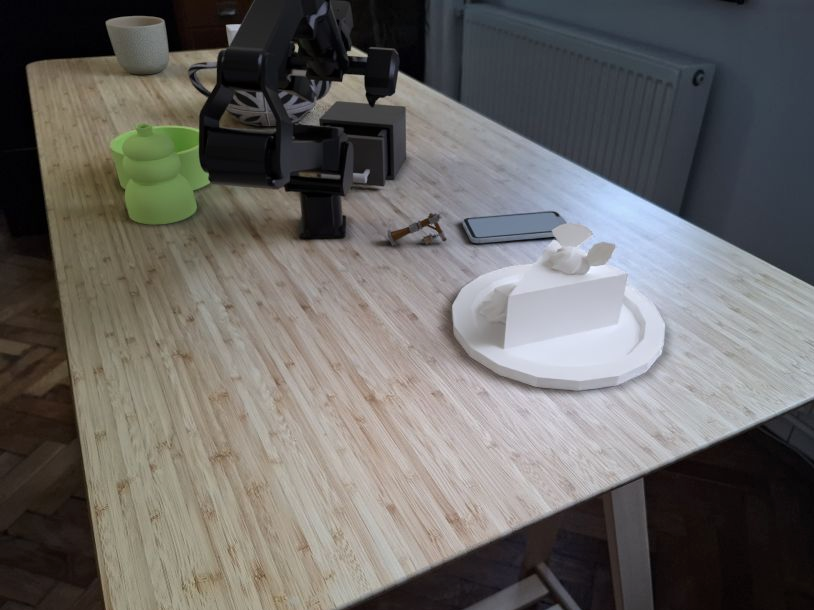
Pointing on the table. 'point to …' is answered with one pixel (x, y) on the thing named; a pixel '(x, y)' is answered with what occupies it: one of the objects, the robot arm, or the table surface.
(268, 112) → the teapot
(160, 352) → the table surface
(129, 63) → the planter
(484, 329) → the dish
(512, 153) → the table surface
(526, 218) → the smartphone
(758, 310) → the table surface
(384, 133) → the drawer
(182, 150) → the food container
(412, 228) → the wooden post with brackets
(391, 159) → the cabinet
